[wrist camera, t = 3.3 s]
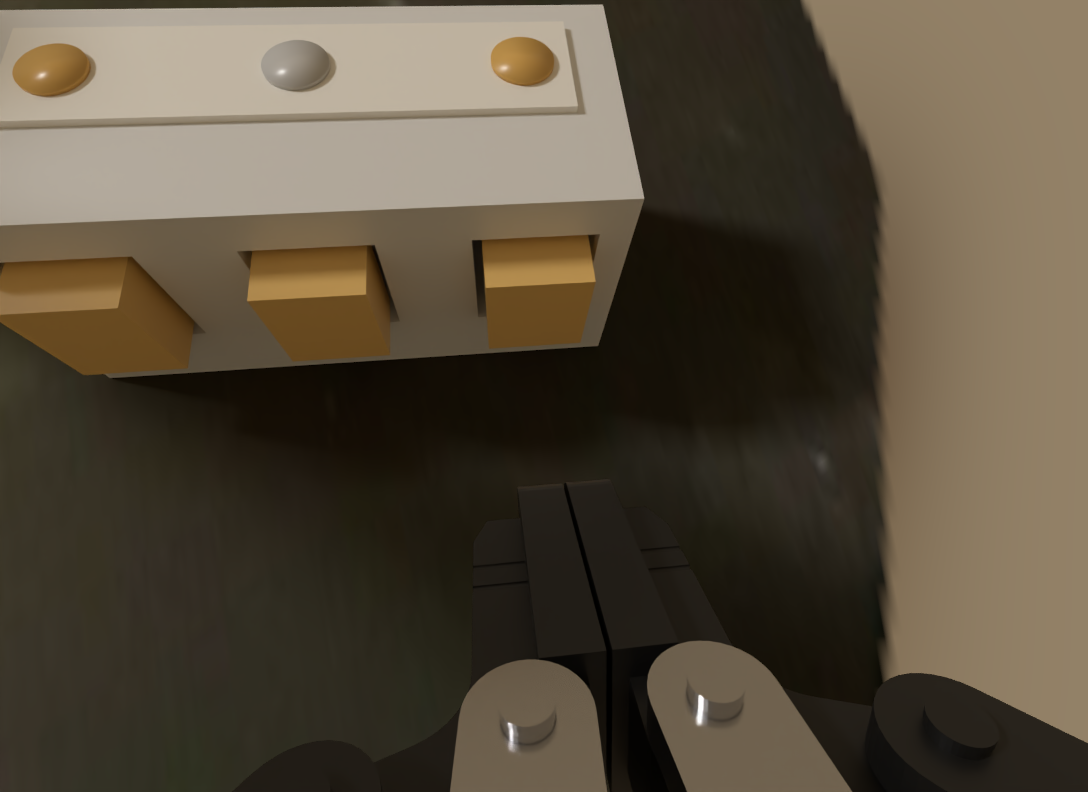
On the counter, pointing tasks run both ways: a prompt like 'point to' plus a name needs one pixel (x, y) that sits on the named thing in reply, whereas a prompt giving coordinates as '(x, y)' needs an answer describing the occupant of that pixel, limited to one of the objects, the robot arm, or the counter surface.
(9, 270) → the button
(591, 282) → the button
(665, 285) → the counter surface
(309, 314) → the middle button
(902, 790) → the robot arm
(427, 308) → the button console
